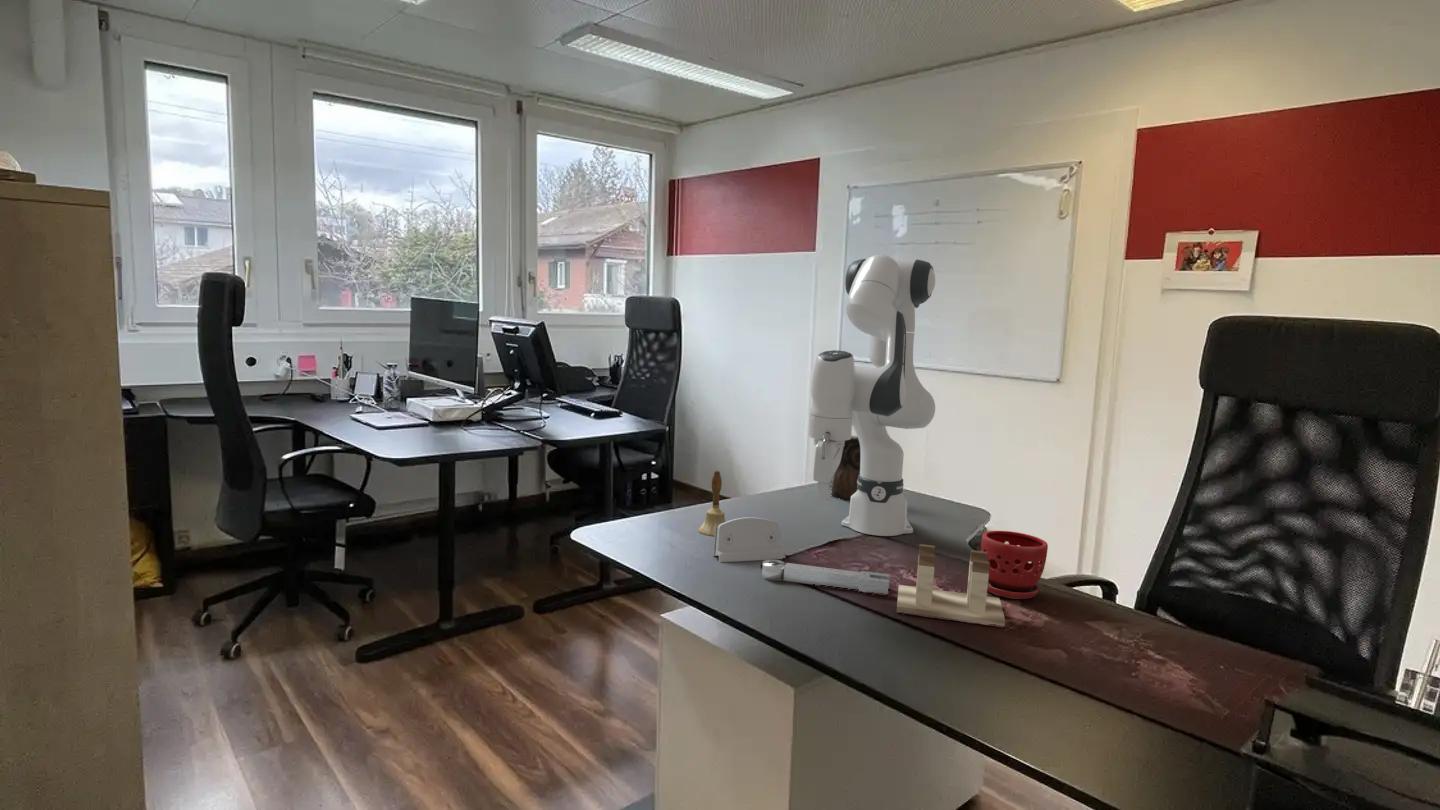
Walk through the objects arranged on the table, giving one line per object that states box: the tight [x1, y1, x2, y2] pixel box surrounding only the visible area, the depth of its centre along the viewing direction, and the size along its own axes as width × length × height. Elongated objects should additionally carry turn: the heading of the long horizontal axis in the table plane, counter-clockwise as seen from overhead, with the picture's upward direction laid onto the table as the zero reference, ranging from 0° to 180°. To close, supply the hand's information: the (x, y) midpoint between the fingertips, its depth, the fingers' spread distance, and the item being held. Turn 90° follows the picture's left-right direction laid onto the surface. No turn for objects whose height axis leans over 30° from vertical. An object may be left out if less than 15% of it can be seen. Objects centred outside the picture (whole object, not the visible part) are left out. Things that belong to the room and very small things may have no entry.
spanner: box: [761, 559, 891, 595], centre depth 165 cm, size 27×5×3 cm, turn 75°
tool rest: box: [896, 543, 1006, 626], centre depth 153 cm, size 12×20×12 cm, turn 75°
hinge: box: [713, 516, 786, 563], centre depth 181 cm, size 17×5×10 cm, turn 106°
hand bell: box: [697, 470, 726, 537], centre depth 198 cm, size 8×8×16 cm
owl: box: [830, 434, 861, 501], centre depth 238 cm, size 13×13×20 cm
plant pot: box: [980, 530, 1049, 600], centre depth 165 cm, size 13×13×12 cm
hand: (825, 494), depth 163 cm, fingers open, 8 cm apart
